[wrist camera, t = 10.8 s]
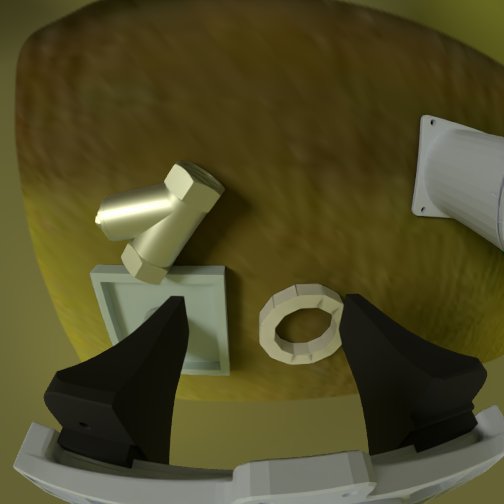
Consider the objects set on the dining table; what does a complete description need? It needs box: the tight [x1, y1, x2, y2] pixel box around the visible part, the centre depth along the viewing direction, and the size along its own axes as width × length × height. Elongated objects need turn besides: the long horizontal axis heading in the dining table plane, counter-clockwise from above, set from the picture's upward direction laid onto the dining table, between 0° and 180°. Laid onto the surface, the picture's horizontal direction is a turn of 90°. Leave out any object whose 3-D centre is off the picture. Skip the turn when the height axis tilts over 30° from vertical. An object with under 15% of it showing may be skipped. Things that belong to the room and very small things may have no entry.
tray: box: [90, 265, 230, 376], centre depth 24 cm, size 11×11×1 cm
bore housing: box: [259, 284, 344, 364], centre depth 24 cm, size 8×8×2 cm
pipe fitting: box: [96, 160, 225, 285], centre depth 19 cm, size 8×4×7 cm
